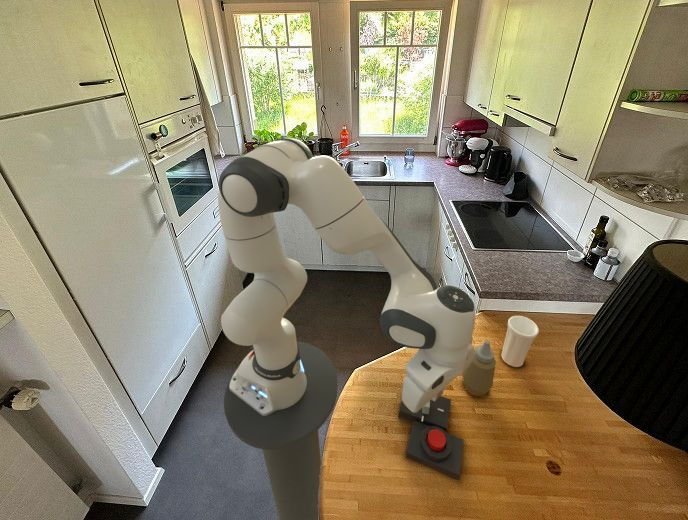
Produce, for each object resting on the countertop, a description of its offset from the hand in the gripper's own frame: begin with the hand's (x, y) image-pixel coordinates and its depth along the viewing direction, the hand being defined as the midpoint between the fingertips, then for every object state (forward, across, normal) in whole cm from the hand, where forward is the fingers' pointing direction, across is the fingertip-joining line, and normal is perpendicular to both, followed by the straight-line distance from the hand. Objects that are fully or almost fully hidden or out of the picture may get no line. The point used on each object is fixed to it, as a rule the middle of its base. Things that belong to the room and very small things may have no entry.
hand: (435, 395), depth 74 cm
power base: (+14, +3, +4) cm, 15 cm away
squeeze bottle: (+14, -20, 0) cm, 24 cm away
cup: (+14, -37, +2) cm, 39 cm away
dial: (+11, -3, -4) cm, 12 cm away
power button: (+10, +3, +4) cm, 11 cm away
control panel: (+14, -3, -4) cm, 15 cm away
